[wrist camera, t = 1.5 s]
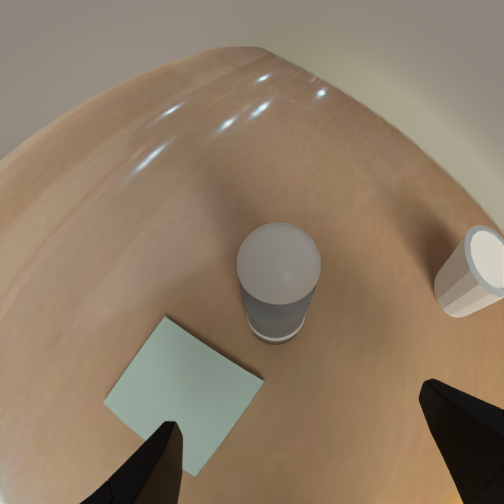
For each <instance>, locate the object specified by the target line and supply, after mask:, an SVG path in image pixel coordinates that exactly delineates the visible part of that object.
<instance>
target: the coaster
mask: <svg viewBox="0 0 504 504" xmlns="http://www.w3.org/2000/svg"><path fill="white" fill-rule="evenodd" d="M263 383H264V381H263V380H261V379H259V378H258V377H256V376H254V375H253V374H251V373H249V372H248V371H246V370H244V369H243V368H241V367H239V366H238V365H236V364H235V363H233V362H231V361H230V360H228V359H227V358H225V357H224V356H222V355H220V354H219V353H217V352H216V351H214V350H213V349H211V348H210V347H208V346H207V345H205V344H204V343H202V342H201V341H199V340H198V339H196V338H195V337H193V336H192V335H191V334H189V333H188V332H186V331H185V330H183V329H182V328H181V327H179V326H178V325H176V324H175V323H174V322H172V321H171V320H169V319H168V318H167V317H164V318H163V319H162V321H161V322H160V323H159V325H158V326H157V327H156V329H155V330H154V332H153V333H152V334H151V336H150V337H149V338H148V340H147V341H146V343H145V344H144V345H143V347H142V348H141V349H140V351H139V352H138V354H137V355H136V356H135V358H134V359H133V361H132V362H131V363H130V365H129V366H128V368H127V369H126V370H125V372H124V373H123V375H122V376H121V378H120V379H119V380H118V382H117V383H116V385H115V386H114V388H113V389H112V390H111V392H110V393H109V395H108V396H107V398H106V399H105V401H104V402H103V403H104V404H105V405H106V406H107V407H108V408H109V409H110V410H111V411H112V412H113V413H114V414H115V415H116V416H117V417H118V418H119V419H121V420H122V421H123V422H124V423H125V424H126V425H127V426H128V427H129V428H131V429H132V430H133V431H134V432H135V433H136V434H138V435H139V436H140V437H141V438H142V439H144V440H145V441H146V440H147V439H148V438H149V437H150V436H151V435H152V434H153V433H154V432H155V431H156V430H157V429H158V427H159V426H160V425H161V424H162V423H163V422H164V421H176V422H177V424H178V426H179V428H180V430H181V433H182V435H183V461H182V469H183V470H185V471H186V472H188V473H189V474H191V475H192V476H194V477H196V476H197V475H198V473H199V472H200V471H201V470H202V468H203V467H204V466H205V464H206V463H207V462H208V461H209V459H210V458H211V457H212V455H213V454H214V453H215V451H216V450H217V449H218V447H219V446H220V445H221V443H222V442H223V441H224V439H225V438H226V437H227V435H228V434H229V432H230V431H231V430H232V428H233V427H234V425H235V424H236V423H237V421H238V420H239V418H240V417H241V416H242V414H243V413H244V411H245V410H246V408H247V407H248V405H249V404H250V403H251V401H252V400H253V398H254V397H255V395H256V394H257V392H258V391H259V389H260V388H261V386H262V385H263Z"/></svg>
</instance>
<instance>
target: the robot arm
mask: <svg viewBox="0 0 504 504" xmlns="http://www.w3.org/2000/svg"><path fill="white" fill-rule="evenodd" d="M419 402H420V405H421V408H422V410H423V413H424V416H425V418H426V421H427V424H428V427H429V429H430V432H431V434H432V436H433V438H434V440H435V442H436V444H437V446H438V448H439V450H440V452H441V454H442V456H443V459H444V461H445V463H446V465H447V467H448V469H449V471H450V474H451V476H452V478H453V480H454V483H455V485H456V487H457V490H458V492H459V494H460V497H461V499H462V501H463V504H504V409H502V410H501V408H499V407H496V406H494V405H492V404H489V403H487V402H485V401H483V400H480V399H478V398H476V397H474V396H471V395H469V394H467V393H465V392H462V391H460V390H458V389H456V388H454V387H451V386H449V385H447V384H445V383H443V382H441V381H438V380H436V379H429V380H426V381H424V383H423V385H422V388H421V391H420V394H419ZM182 461H183V435H182V433H181V430H180V428H179V426H178V424H177V422H176V421H164V422H163V423H162V424H161V425H160V426H159V427H158V429H157V430H156V431H155V432H154V433H153V434H152V435H151V436H150V437H149V438H148V439H147V440H146V441H145V442H144V443H143V444H142V445H141V446H140V447H139V449H138V450H137V451H136V452H135V453H134V454H133V455H132V456H131V457H130V458H129V459H128V460H127V461H126V462H125V463H124V464H123V465H122V466H121V467H120V468H119V469H118V470H117V471H116V472H115V473H114V474H113V475H112V476H111V477H110V478H109V479H108V481H106V482H105V483H104V484H103V485H102V486H101V487H99V488H98V489H97V490H96V491H95V492H94V493H93V494H92V495H90V496H89V497H88V498H86V499H85V500H84V501H82V502H81V503H80V504H177V503H178V497H179V491H180V485H181V478H182Z"/></svg>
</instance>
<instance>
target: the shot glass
mask: <svg viewBox="0 0 504 504" xmlns="http://www.w3.org/2000/svg"><path fill="white" fill-rule="evenodd" d="M434 293H435V297H436V301H437V302H438V304H439V305H440V307H441V309H442V310H443V311H444V312H446V313H447V314H448V315H449V316H452V317H456V318H460V317H464V316H466V315H469V314H471V313H473V312H475V311H477V310H480V309H482V308H484V307H486V306H488V305H490V304H492V303H494V302H496V301H498V300H500V299H502V298H504V239H503V238H502V237H501V236H500V235H499V234H498V233H496V232H495V231H494V230H493V229H490V228H488V227H486V226H484V225H483V226H474V227H472V228H471V229H470V230H468V231H467V233H466V234H465V236H464V237H463V239H462V240H461V242H460V243H459V244H458V246H457V247H456V249H455V250H454V251H453V253H452V254H451V256H450V257H449V258H448V260H447V261H446V262H445V264H444V265H443V266H442V268H441V269H440V270H439V272H438V273H437V275H436V277H435V280H434Z"/></svg>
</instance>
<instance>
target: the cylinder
mask: <svg viewBox="0 0 504 504" xmlns="http://www.w3.org/2000/svg"><path fill="white" fill-rule="evenodd" d="M320 271H321V258H320V253H319V250H318V247H317V245H316V243H315V242H314V240H313V239H312V238H311V237H310V235H309V234H308V233H307V232H305V231H304V230H303V229H301V228H299V227H298V226H295V225H293V224H289V223H284V222H274V223H269V224H265V225H263V226H260V227H258V228H257V229H255V230H254V231H252V232H251V233H250V234H249V235H248V236H247V237H246V238H245V240H244V241H243V243H242V245H241V247H240V249H239V252H238V256H237V274H238V278H239V283H240V287H241V291H242V295H243V299H244V304H245V308H246V317H247V321H248V324H249V326H250V328H251V330H252V332H253V333H254V335H255V336H256V337H257V338H258V339H259V340H261V341H263V342H265V343H268V344H273V345H277V344H283V343H286V342H288V341H290V340H291V339H292V338H294V337H295V336H296V334H297V333H298V331H299V330H300V329H301V327H302V325H303V323H304V320H305V317H306V312H307V309H308V306H309V304H310V301H311V298H312V296H313V293H314V290H315V287H316V285H317V282H318V279H319V276H320Z"/></svg>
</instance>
